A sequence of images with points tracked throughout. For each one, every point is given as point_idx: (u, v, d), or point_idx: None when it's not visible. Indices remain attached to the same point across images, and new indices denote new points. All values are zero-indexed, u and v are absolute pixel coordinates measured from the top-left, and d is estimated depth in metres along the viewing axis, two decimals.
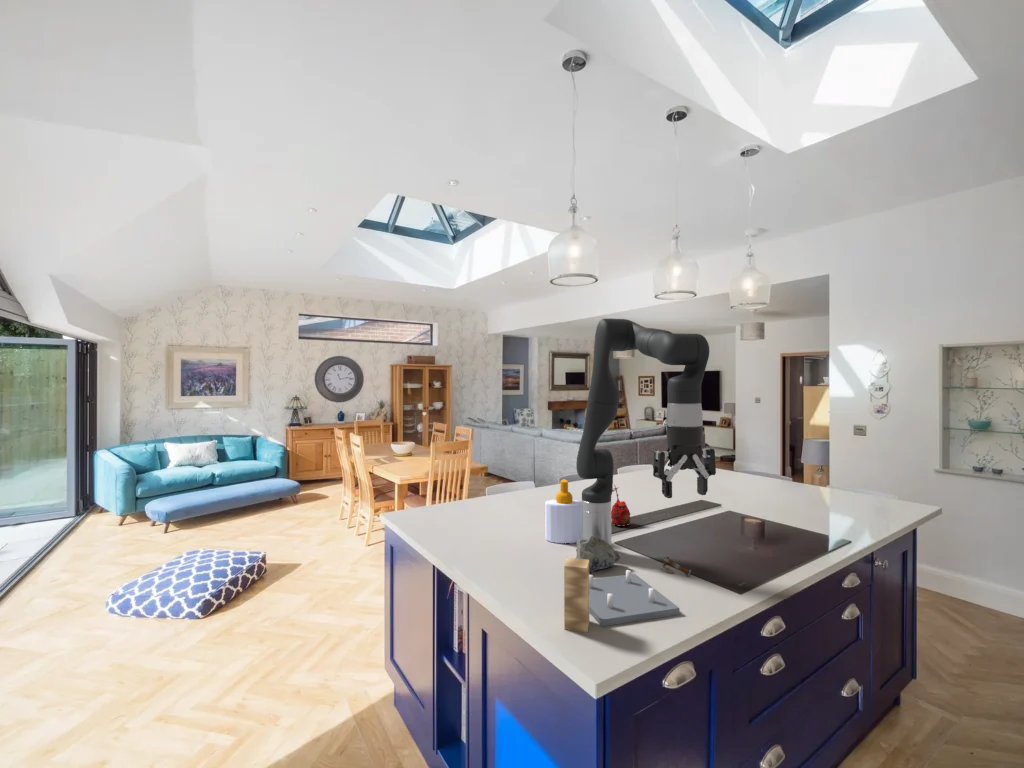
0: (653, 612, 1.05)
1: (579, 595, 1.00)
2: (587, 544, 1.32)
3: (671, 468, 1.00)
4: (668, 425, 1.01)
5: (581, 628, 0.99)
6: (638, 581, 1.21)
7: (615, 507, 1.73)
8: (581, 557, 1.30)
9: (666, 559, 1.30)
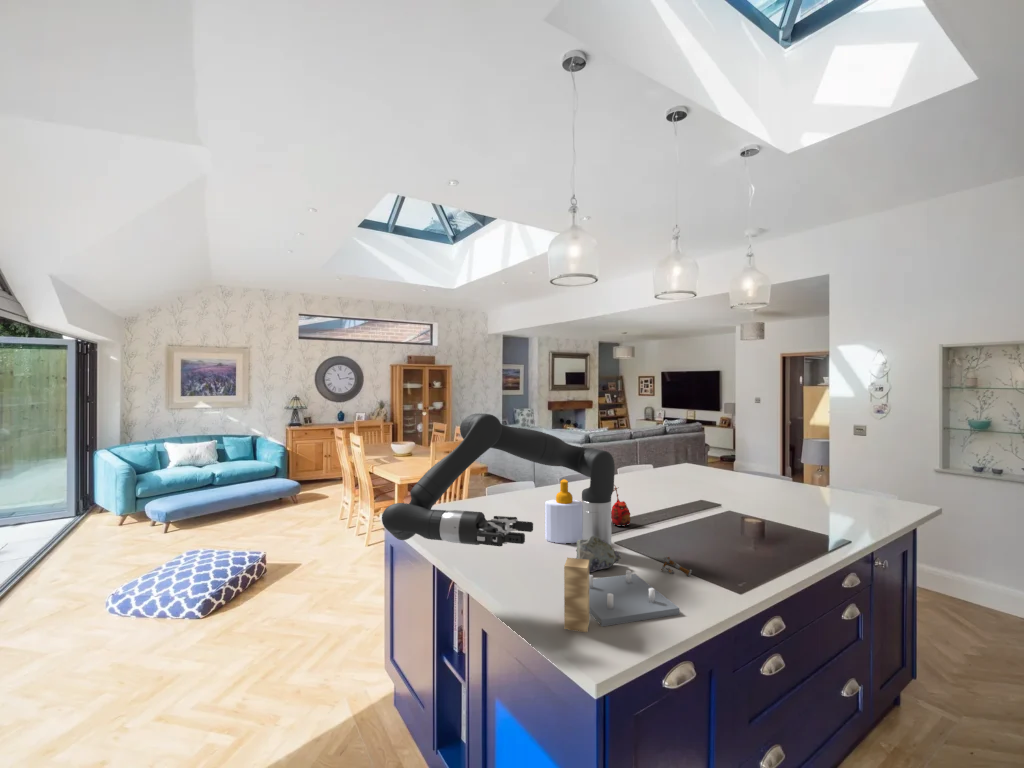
0: (653, 612, 1.05)
1: (579, 595, 1.00)
2: (587, 544, 1.32)
3: None
4: None
5: (581, 628, 0.99)
6: (638, 581, 1.21)
7: (615, 507, 1.73)
8: (581, 557, 1.30)
9: (666, 559, 1.30)
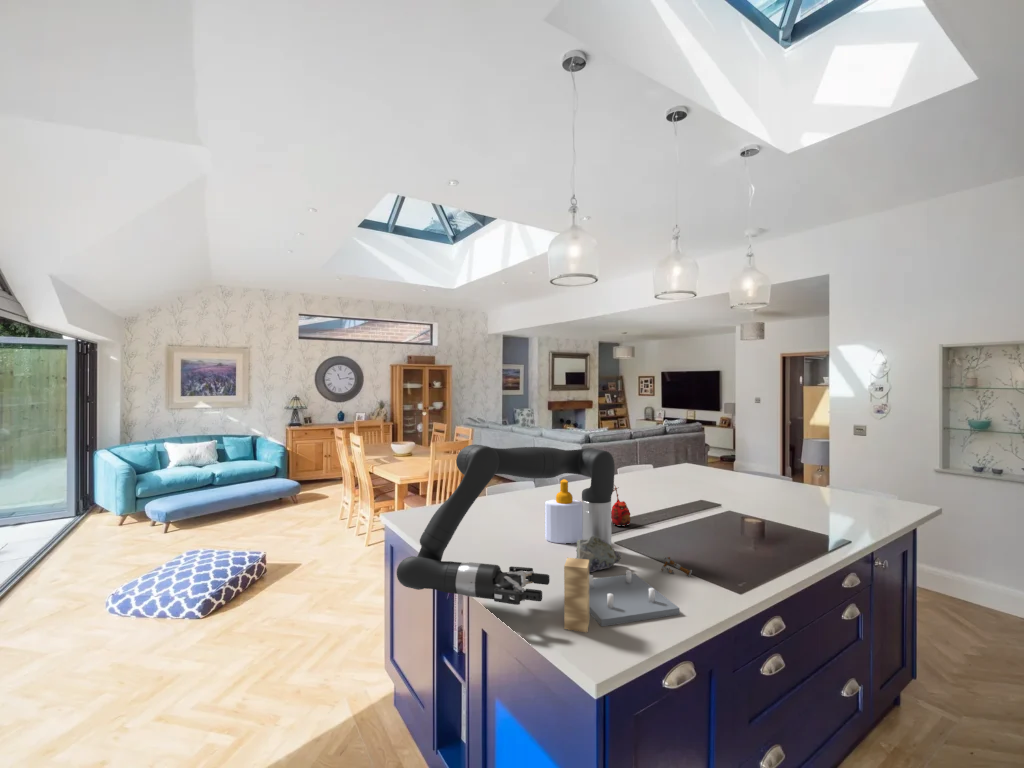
0: (653, 612, 1.05)
1: (579, 595, 1.00)
2: (587, 544, 1.32)
3: None
4: None
5: (581, 628, 0.99)
6: (638, 581, 1.21)
7: (615, 507, 1.73)
8: (580, 557, 1.30)
9: (667, 559, 1.30)
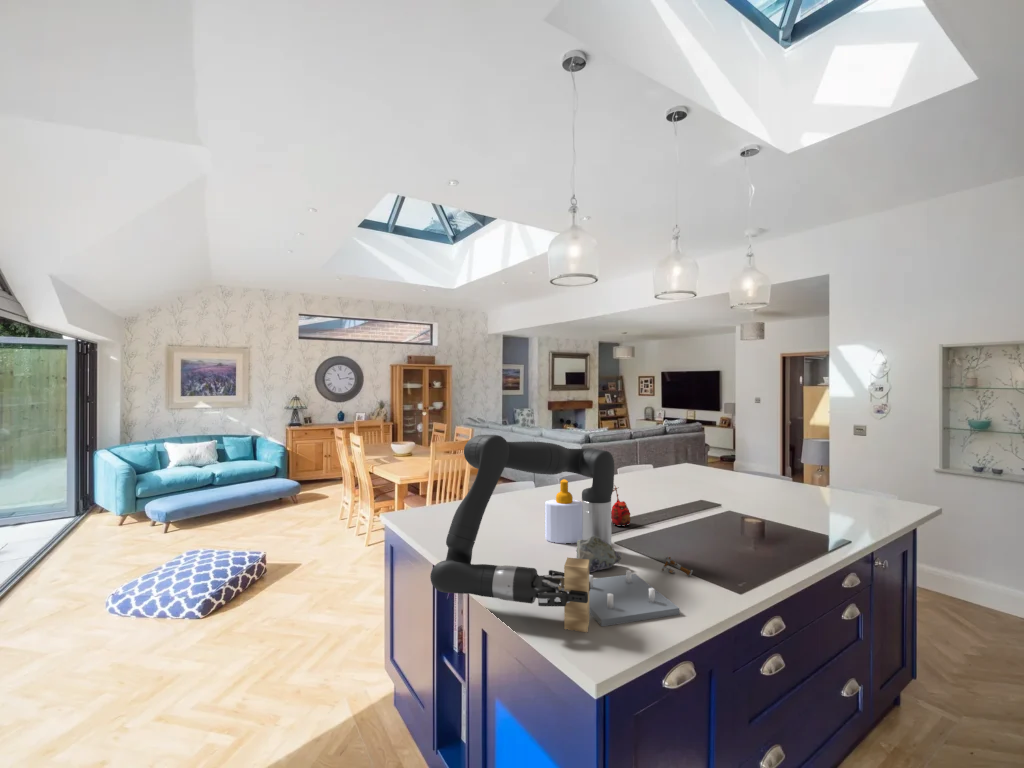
0: (653, 612, 1.05)
1: None
2: (587, 544, 1.31)
3: None
4: None
5: (581, 628, 0.99)
6: (638, 581, 1.21)
7: (615, 507, 1.73)
8: (580, 557, 1.30)
9: (667, 559, 1.30)
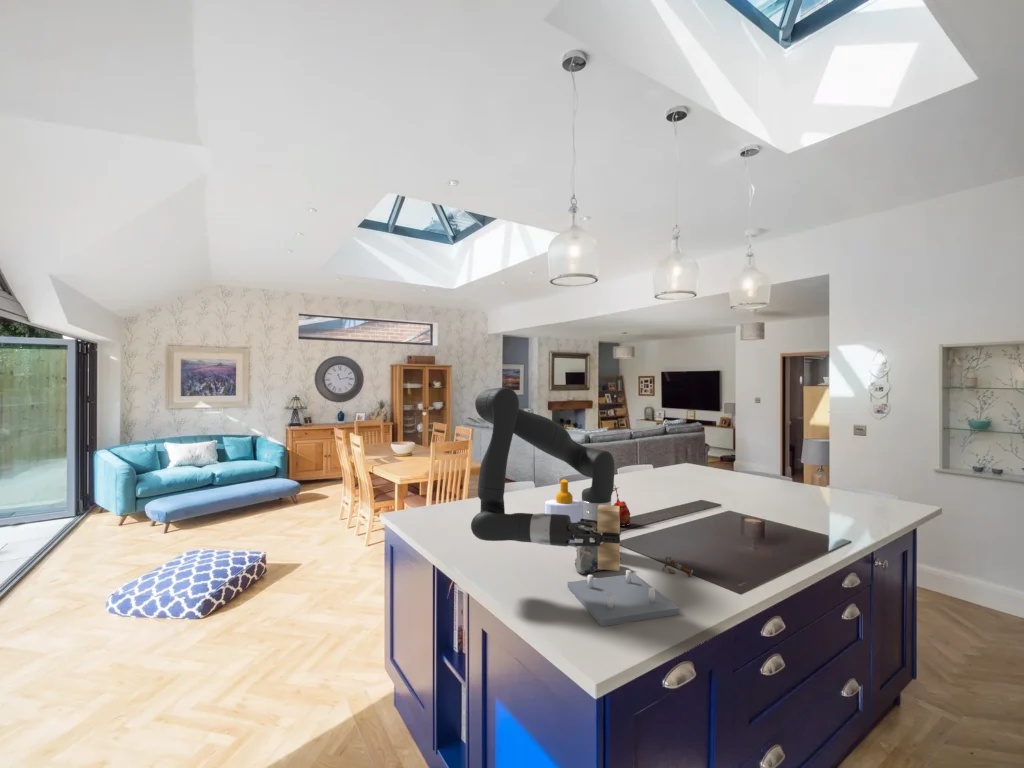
0: (653, 612, 1.05)
1: None
2: None
3: None
4: None
5: (613, 567, 1.08)
6: (638, 581, 1.21)
7: None
8: (580, 557, 1.29)
9: (668, 559, 1.30)
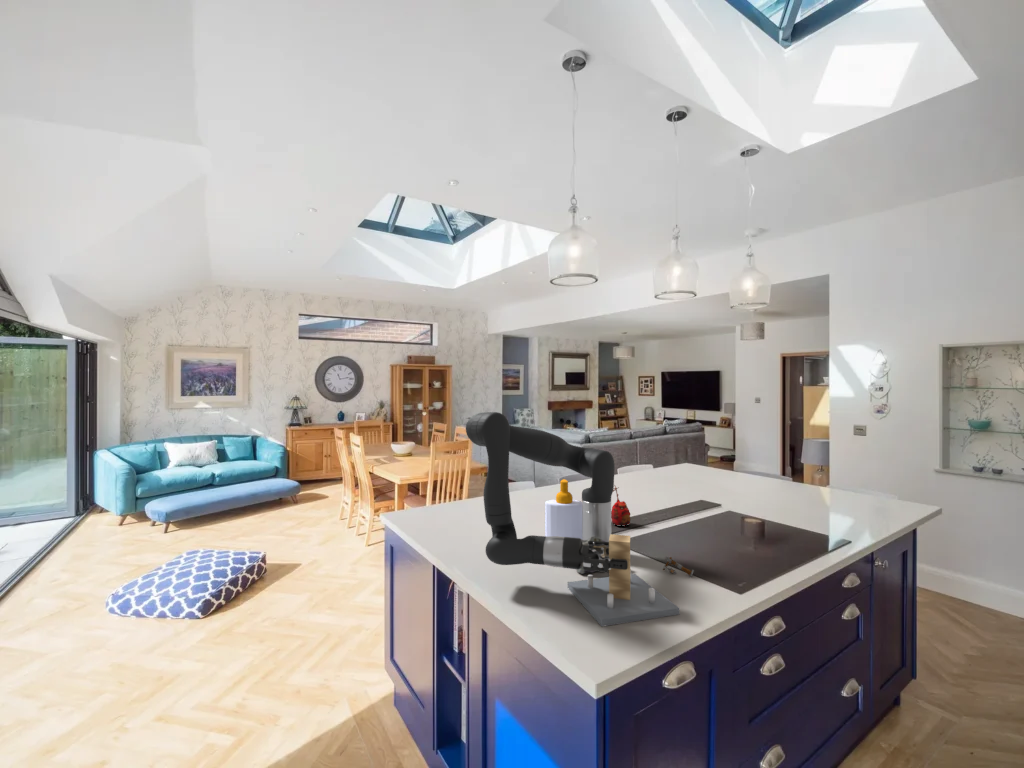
0: (653, 612, 1.05)
1: None
2: None
3: None
4: None
5: (624, 596, 1.11)
6: (638, 581, 1.21)
7: (615, 507, 1.73)
8: None
9: (668, 559, 1.30)
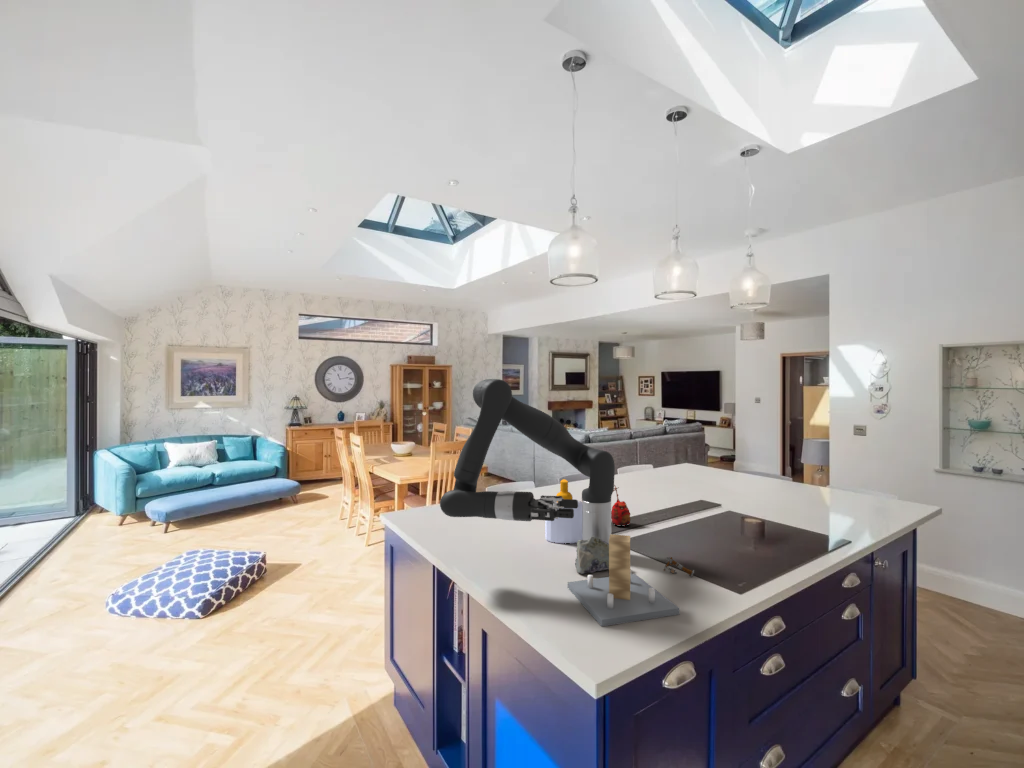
0: (653, 612, 1.05)
1: (622, 567, 1.11)
2: (587, 545, 1.31)
3: None
4: None
5: (624, 596, 1.11)
6: (638, 581, 1.21)
7: (615, 507, 1.73)
8: (580, 557, 1.29)
9: (669, 559, 1.30)
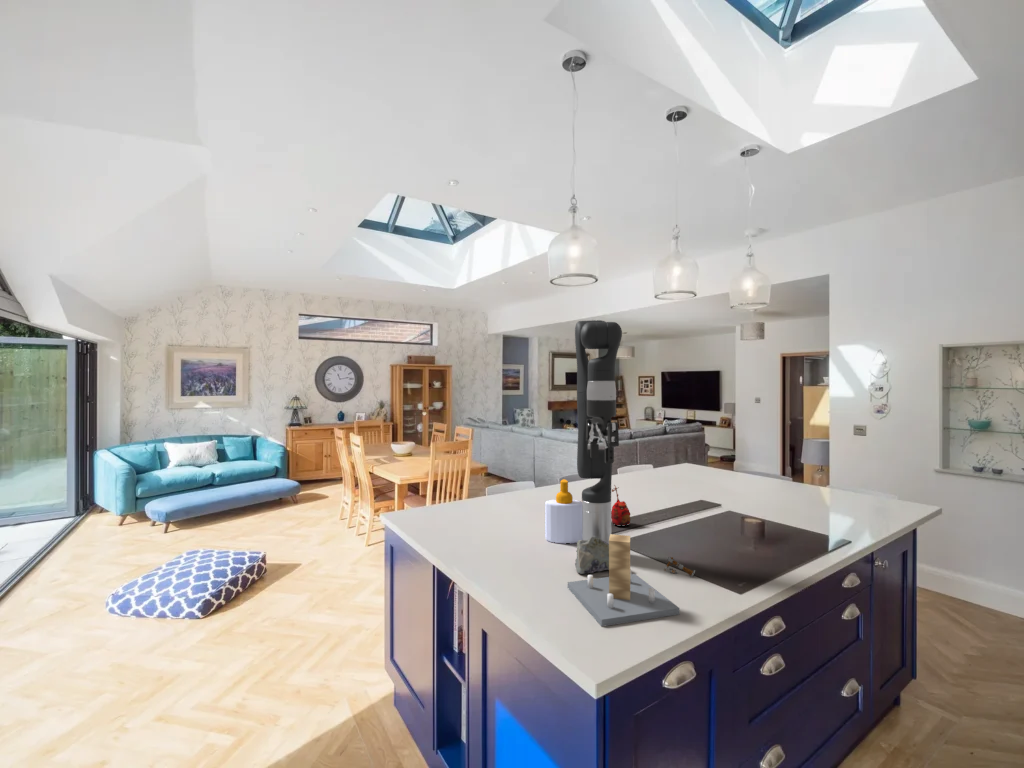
0: (653, 612, 1.05)
1: (622, 567, 1.11)
2: (587, 545, 1.31)
3: None
4: None
5: (624, 596, 1.11)
6: (638, 581, 1.21)
7: (615, 507, 1.73)
8: (580, 558, 1.29)
9: (670, 559, 1.30)
